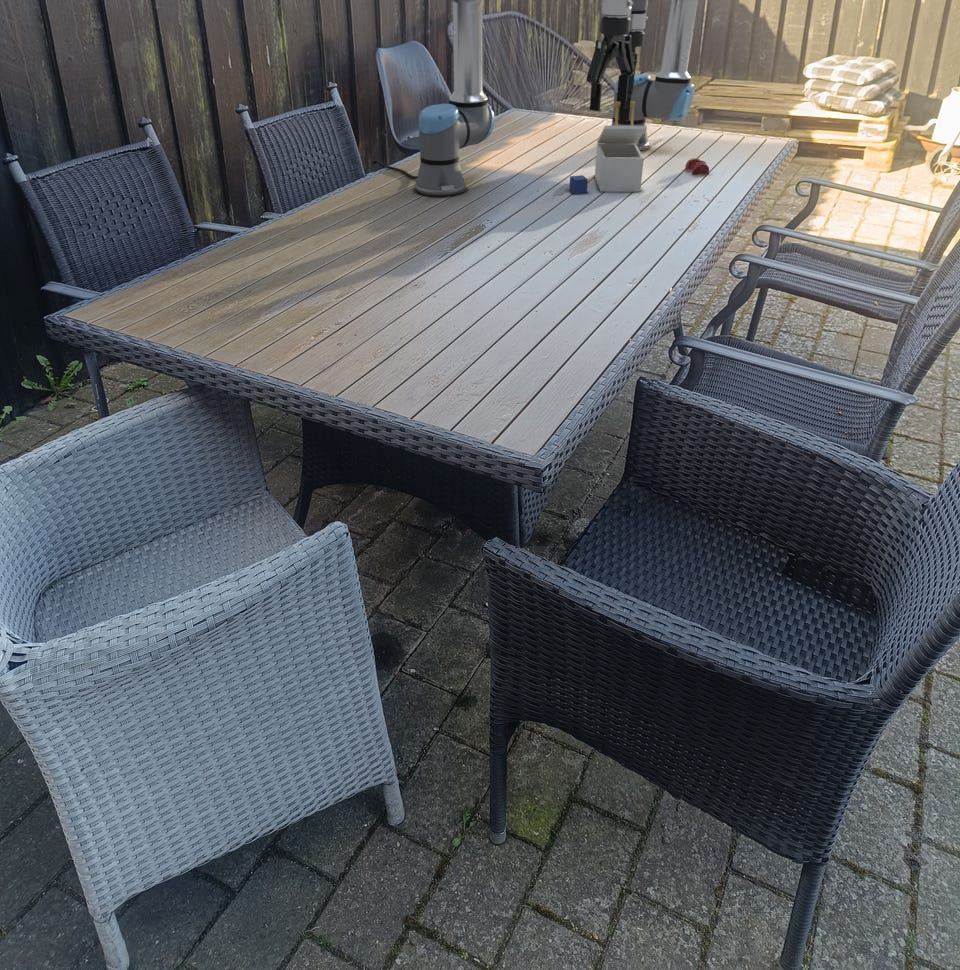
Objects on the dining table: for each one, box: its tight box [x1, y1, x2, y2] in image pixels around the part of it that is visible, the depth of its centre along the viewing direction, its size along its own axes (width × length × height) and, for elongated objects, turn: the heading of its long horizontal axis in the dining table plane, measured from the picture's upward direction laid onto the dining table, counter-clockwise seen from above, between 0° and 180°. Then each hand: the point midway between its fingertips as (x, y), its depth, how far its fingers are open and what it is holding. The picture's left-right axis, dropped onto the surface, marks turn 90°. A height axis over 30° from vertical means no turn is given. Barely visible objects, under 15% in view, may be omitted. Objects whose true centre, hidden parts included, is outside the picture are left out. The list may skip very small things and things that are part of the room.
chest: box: [594, 143, 645, 193], centre depth 261 cm, size 17×12×10 cm
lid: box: [596, 101, 648, 145], centre depth 255 cm, size 18×12×9 cm
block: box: [568, 174, 589, 195], centre depth 256 cm, size 4×4×4 cm
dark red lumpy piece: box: [684, 157, 710, 176], centre depth 272 cm, size 6×4×8 cm
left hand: (608, 106), depth 226 cm, fingers open, 13 cm apart
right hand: (623, 118), depth 251 cm, fingers closed on lid, 1 cm apart
